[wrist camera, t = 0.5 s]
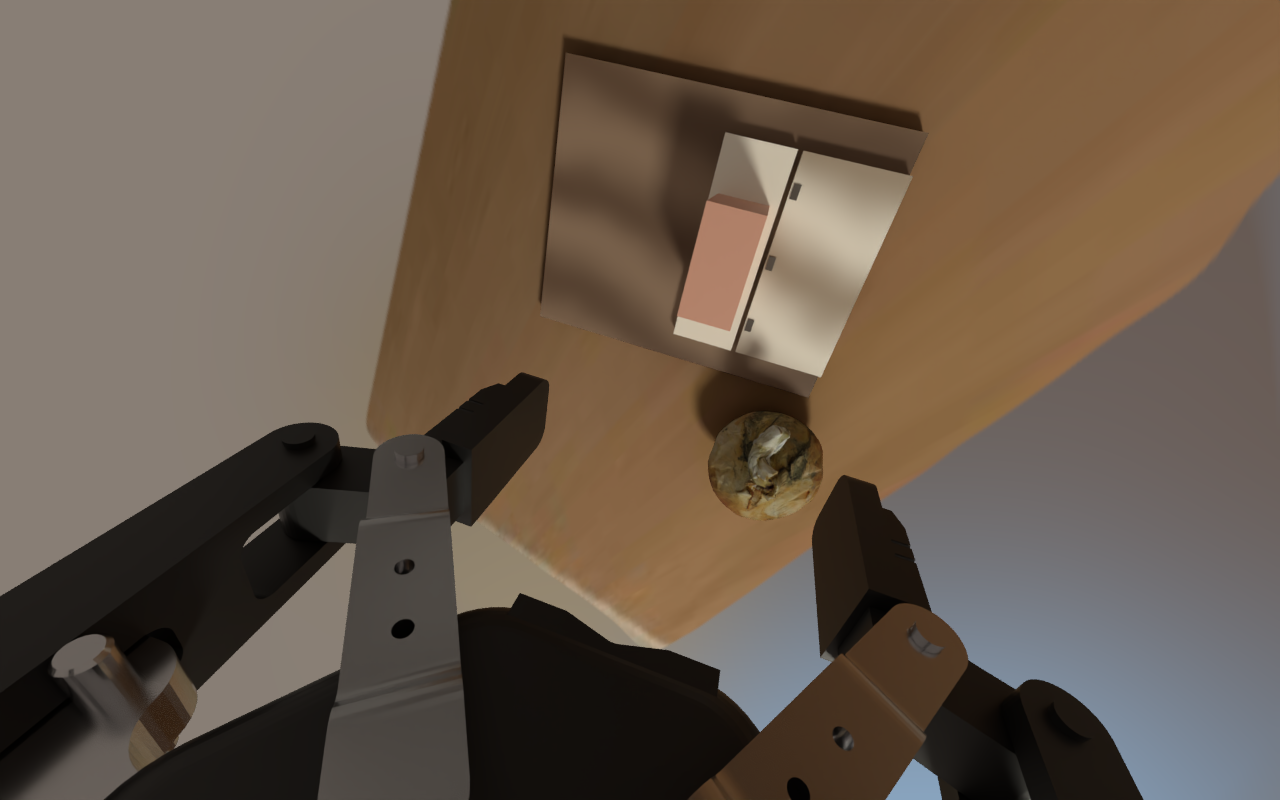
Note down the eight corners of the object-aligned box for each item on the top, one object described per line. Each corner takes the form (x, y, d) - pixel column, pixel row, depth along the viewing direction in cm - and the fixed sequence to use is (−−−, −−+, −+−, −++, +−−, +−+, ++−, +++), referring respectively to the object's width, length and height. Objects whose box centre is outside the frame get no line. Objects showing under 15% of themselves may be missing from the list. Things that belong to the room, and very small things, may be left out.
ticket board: (572, 55, 27) (559, 49, 25) (923, 134, 24) (933, 132, 23) (546, 312, 35) (534, 319, 34) (807, 391, 33) (809, 403, 31)
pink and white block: (726, 132, 26) (714, 127, 21) (797, 149, 25) (801, 148, 20) (675, 329, 32) (656, 361, 27) (731, 346, 31) (722, 381, 27)
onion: (693, 422, 36) (672, 484, 29) (787, 375, 32) (788, 433, 26) (744, 493, 38) (735, 567, 31) (839, 456, 34) (853, 531, 27)
